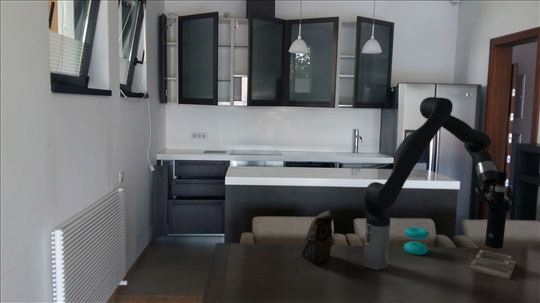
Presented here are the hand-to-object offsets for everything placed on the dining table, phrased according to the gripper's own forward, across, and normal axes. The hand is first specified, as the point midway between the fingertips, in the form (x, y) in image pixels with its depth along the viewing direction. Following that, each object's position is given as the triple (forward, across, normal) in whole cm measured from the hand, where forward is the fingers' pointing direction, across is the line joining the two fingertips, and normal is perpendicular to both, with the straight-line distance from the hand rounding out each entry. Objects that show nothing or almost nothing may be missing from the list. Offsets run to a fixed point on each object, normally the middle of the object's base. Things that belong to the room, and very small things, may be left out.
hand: (500, 209), depth 166 cm
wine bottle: (+10, 0, +12) cm, 16 cm away
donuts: (+5, -26, +29) cm, 39 cm away
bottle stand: (+16, 0, +18) cm, 24 cm away
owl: (+13, -70, +21) cm, 75 cm away
